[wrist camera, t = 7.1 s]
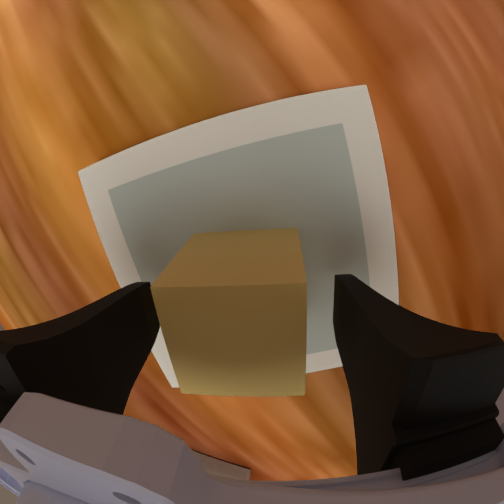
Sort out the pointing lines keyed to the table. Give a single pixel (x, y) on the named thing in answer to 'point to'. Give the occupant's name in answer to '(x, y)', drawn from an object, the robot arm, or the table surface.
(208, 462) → the supplement box
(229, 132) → the base
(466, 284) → the table surface
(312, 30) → the table surface
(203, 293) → the block
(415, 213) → the table surface
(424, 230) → the table surface
